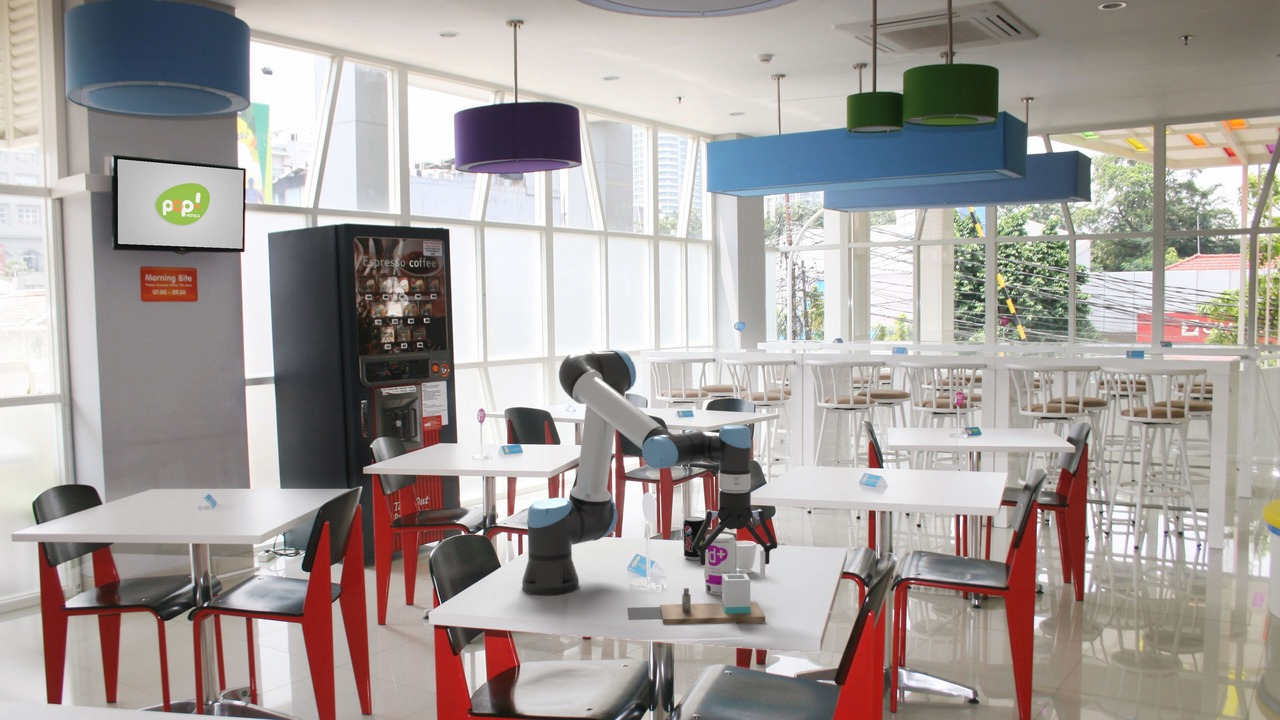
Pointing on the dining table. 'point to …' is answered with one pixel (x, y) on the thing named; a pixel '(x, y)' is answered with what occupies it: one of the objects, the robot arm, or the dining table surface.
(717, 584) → the supplement can
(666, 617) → the pinboard
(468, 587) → the dining table surface
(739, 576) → the sleeve
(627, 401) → the robot arm
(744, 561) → the cup
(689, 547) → the beverage can
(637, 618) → the mat
